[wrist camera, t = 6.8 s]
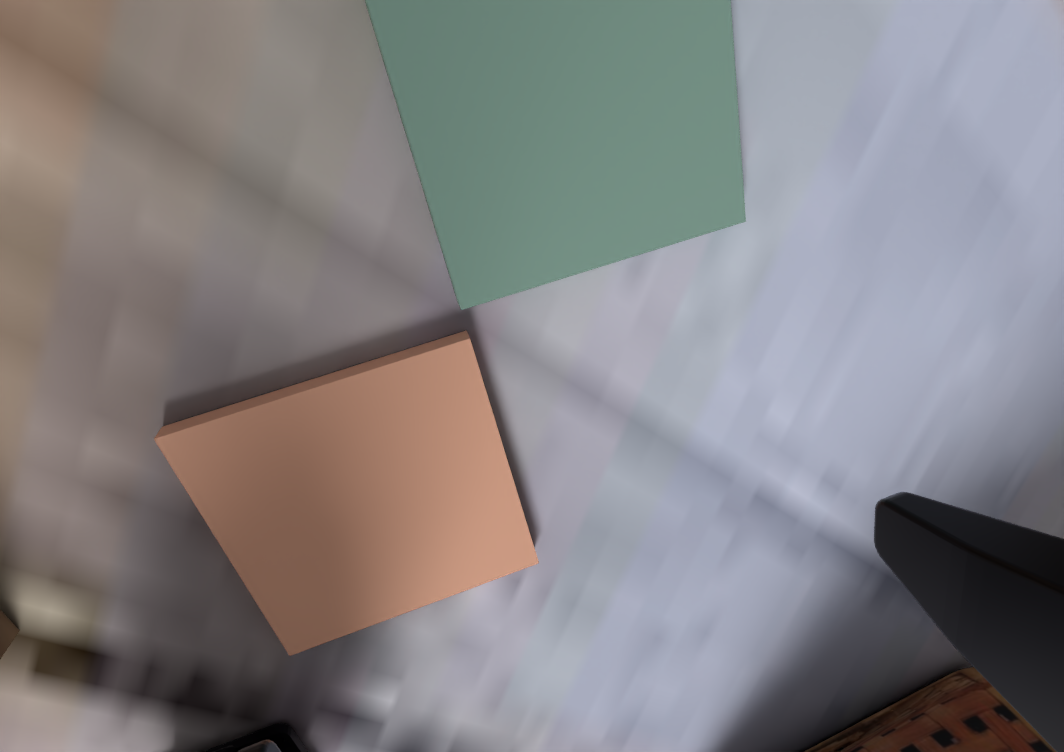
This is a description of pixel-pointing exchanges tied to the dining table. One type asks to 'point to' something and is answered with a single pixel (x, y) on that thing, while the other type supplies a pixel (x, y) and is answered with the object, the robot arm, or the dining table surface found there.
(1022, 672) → the robot arm
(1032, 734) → the basket
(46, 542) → the dining table surface
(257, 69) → the dining table surface
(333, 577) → the mat terracotta
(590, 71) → the mat green
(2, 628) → the brown cube
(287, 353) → the dining table surface
